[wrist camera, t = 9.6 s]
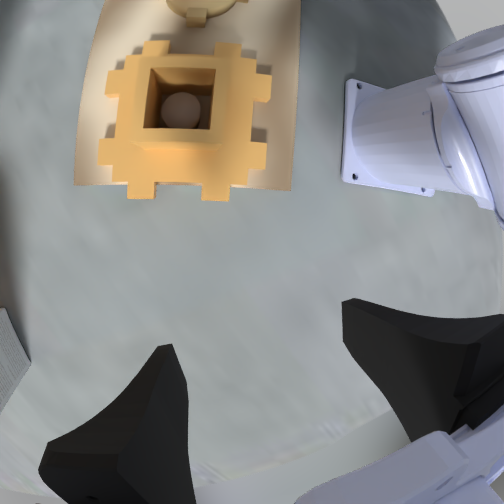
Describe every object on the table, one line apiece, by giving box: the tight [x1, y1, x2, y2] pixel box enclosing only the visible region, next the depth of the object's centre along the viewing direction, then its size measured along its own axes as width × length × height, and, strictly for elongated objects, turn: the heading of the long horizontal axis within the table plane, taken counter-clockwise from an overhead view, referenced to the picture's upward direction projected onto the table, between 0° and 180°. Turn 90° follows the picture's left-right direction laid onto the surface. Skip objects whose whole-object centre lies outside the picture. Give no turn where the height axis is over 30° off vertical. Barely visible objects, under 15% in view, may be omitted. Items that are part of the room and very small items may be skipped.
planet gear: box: [97, 40, 272, 201], centre depth 14 cm, size 10×10×5 cm
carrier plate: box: [74, 0, 301, 191], centre depth 14 cm, size 14×18×4 cm
